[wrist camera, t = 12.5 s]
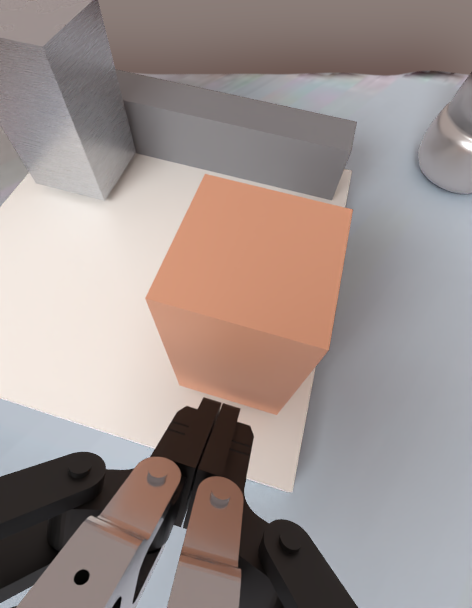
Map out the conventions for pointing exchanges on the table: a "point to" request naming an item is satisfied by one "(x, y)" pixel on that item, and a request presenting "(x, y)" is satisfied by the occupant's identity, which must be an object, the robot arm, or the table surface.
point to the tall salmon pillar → (250, 291)
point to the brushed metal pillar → (62, 95)
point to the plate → (148, 263)
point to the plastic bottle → (450, 144)
